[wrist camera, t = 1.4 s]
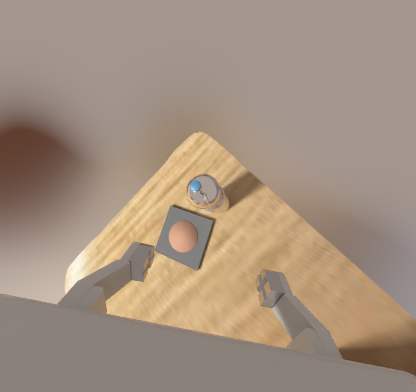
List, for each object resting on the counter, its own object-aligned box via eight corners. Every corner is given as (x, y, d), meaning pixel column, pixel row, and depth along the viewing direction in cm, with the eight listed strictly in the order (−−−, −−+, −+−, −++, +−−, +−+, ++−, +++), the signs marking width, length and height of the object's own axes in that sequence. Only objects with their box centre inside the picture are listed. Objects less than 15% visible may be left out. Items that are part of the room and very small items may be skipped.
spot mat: (213, 220, 48) (213, 220, 47) (198, 269, 47) (197, 270, 46) (171, 206, 53) (170, 205, 51) (156, 250, 51) (154, 250, 50)
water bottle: (229, 214, 47) (214, 206, 23) (208, 213, 49) (174, 205, 25) (230, 192, 48) (215, 164, 24) (209, 192, 50) (177, 166, 26)
